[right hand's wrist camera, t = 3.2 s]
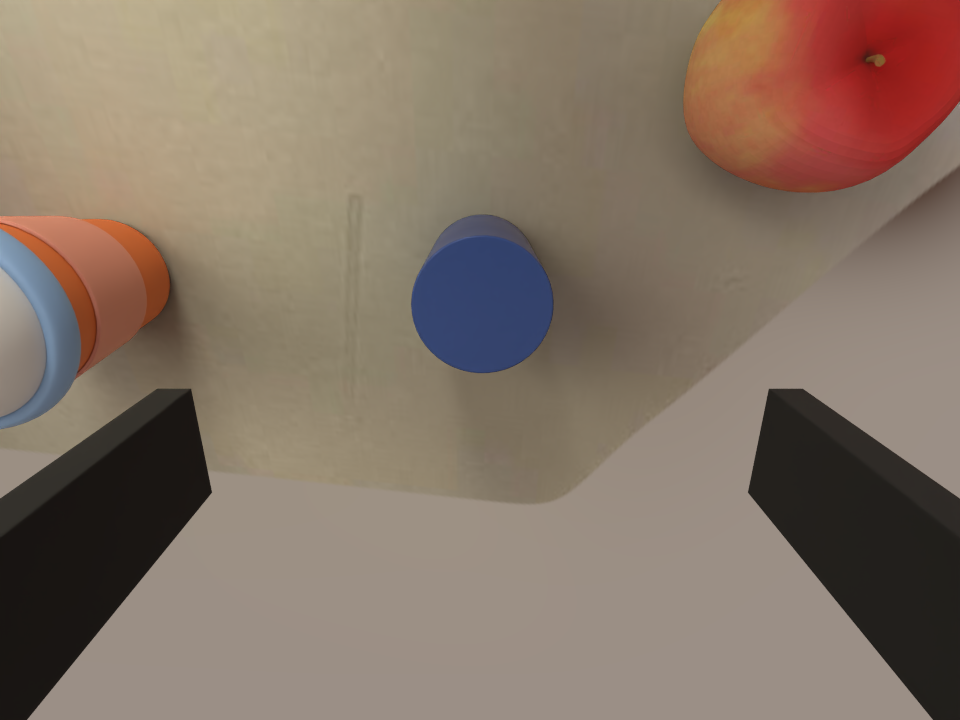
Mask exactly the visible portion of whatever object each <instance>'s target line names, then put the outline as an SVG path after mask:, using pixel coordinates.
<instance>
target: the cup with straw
mask: <svg viewBox="0 0 960 720" xmlns="http://www.w3.org/2000/svg"><path fill="white" fill-rule="evenodd" d="M169 290H170V280H169V274H168V270H167V267H166V264H165V262H164V260H163V258H162V256H161V254H160V253H159V251H158V250H157V249H156V247H155V246H154V245H153V244H152V243H151V242H150V241H149V240H148V239H147V238H146V237H145V236H144V235H142V234H141V233H140V232H138V231H137V230H135V229H133V228H132V227H130V226H127V225H125V224H122V223H120V222H116V221H112V220H103V219H76V218H71V217H64V216H2V217H0V429H4V428H9V427H13V426H17V425H20V424H23V423H26V422H28V421H31V420H33V419H35V418H37V417H39V416H41V415H42V414H44V413H45V412H47V411H48V410H50V409H51V408H52V407H54V406H55V405H56V404H57V403H58V402H59V401H60V400H61V399H62V398H63V397H64V396H65V394H66V393H67V392H68V390H69V389H70V387H71V385H72V383H73V381H74V380H75V379H76V378H77V377H79V376H80V375H82V374H83V373H84V372H86V371H87V370H89V369H90V368H91V367H93V366H94V365H96V364H97V363H98V362H100V361H101V360H103V359H104V358H105V357H107V356H108V355H110V354H111V353H112V352H114V351H115V350H117V349H118V348H119V347H121V346H122V345H124V344H125V343H126V342H128V341H129V340H130V339H131V338H132V337H133V336H134V335H135V334H136V333H137V331H138V330H139V329H140V328H141V327H143V326H144V325H146V324H147V323H149V322H150V321H151V320H152V319H154V318H155V317H156V316H157V315H158V314H159V313H160V312H161V311H162V309H163V308H164V306H165V304H166V302H167V299H168V296H169Z"/></svg>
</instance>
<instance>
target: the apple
mask: <svg viewBox="0 0 960 720" xmlns="http://www.w3.org/2000/svg"><path fill="white" fill-rule="evenodd" d="M959 101H960V0H721V1H720V3H719V4H718V5H717V6H716V8H715V9H714V11H713V12H712V14H711V15H710V17H709V18H708V20H707V21H706V23H705V24H704V26H703V27H702V29H701V31H700V33H699V35H698V37H697V40H696V42H695V44H694V47H693V50H692V53H691V57H690V60H689V64H688V68H687V74H686V79H685V86H684V99H683V105H684V117H685V123H686V126H687V130H688V132H689V134H690V136H691V138H692V140H693V141H694V143H695V144H696V146H697V147H698V148H699V149H700V150H701V151H702V152H703V153H704V154H705V155H706V156H707V157H708V158H709V159H710V160H712V161H713V162H714V163H716V164H717V165H718V166H720V167H721V168H723V169H725V170H726V171H728V172H730V173H732V174H734V175H736V176H738V177H740V178H742V179H745V180H747V181H750V182H752V183H755V184H758V185H761V186H765V187H769V188H773V189H778V190H784V191H791V192H827V191H835V190H839V189H844V188H848V187H852V186H855V185H857V184H860V183H863V182H865V181H868V180H870V179H872V178H874V177H876V176H878V175H880V174H882V173H884V172H885V171H887V170H888V169H890V168H891V167H893V166H894V165H896V164H897V163H898V162H900V161H901V160H902V159H904V158H905V157H906V156H907V155H908V154H910V153H911V152H912V151H913V150H914V149H915V148H916V147H917V146H918V145H919V144H920V143H921V142H923V141H924V140H925V139H926V138H927V137H928V136H929V135H930V134H931V133H932V132H933V131H934V130H935V129H936V128H937V127H938V126H939V125H940V124H941V123H942V122H943V121H944V120H945V118H946V117H947V116H948V115H949V114H950V113H951V112H952V110H953V109H954V108H955V107H956V105H957V104H958V103H959Z"/></svg>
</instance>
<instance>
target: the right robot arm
mask: <svg viewBox="0 0 960 720" xmlns="http://www.w3.org/2000/svg"><path fill="white" fill-rule="evenodd" d="M211 493H212V490H211V486H210V480H209V476H208V471H207V466H206V461H205V456H204V451H203V446H202V441H201V436H200V431H199V426H198V421H197V416H196V411H195V406H194V401H193V396H192V391H191V389H156V390H155V391H154V392H152V393H151V394H149V395H148V396H146V397H145V398H144V399H142V400H141V401H139V402H138V403H136V404H135V405H133V406H132V407H131V408H129V409H128V410H126V411H125V412H123V413H122V414H121V415H119V416H118V417H116V418H115V419H113V420H112V421H111V422H109V423H108V424H106V425H105V426H103V427H102V428H101V429H99V430H98V431H96V432H95V433H93V434H92V435H91V436H89V437H88V438H86V439H85V440H83V441H82V442H81V443H79V444H78V445H76V446H75V447H73V448H72V449H71V450H69V451H68V452H66V453H65V454H63V455H62V456H61V457H59V458H58V459H56V460H55V461H54V462H52V463H51V464H49V465H48V466H46V467H45V468H43V469H42V470H41V471H39V472H38V473H36V474H35V475H33V476H32V477H30V478H29V479H28V480H26V481H25V482H23V483H22V484H20V485H19V486H18V487H16V488H15V489H13V490H12V491H10V492H9V493H8V494H6V495H5V496H3V497H2V498H0V720H27V719H28V718H29V717H30V715H31V714H32V713H33V712H34V710H35V709H36V708H37V707H38V705H39V704H40V703H41V702H42V701H43V699H44V698H45V697H46V696H47V694H48V693H49V692H50V691H51V689H52V688H53V687H54V686H55V685H56V683H57V682H58V681H59V680H60V678H61V677H62V676H63V675H64V674H65V672H66V671H67V670H68V669H69V667H70V666H71V665H72V664H73V662H74V661H75V660H76V659H77V658H78V656H79V655H80V654H81V653H82V651H83V650H84V649H85V648H86V646H87V645H88V644H89V643H90V642H91V640H92V639H93V638H94V637H95V635H96V634H97V633H98V632H99V631H100V629H101V628H102V627H103V626H104V624H105V623H106V622H107V621H108V620H109V618H110V617H111V616H112V615H113V613H114V612H115V611H116V610H117V608H118V607H119V606H120V605H121V603H122V602H123V601H124V600H125V599H126V597H127V596H128V595H129V594H130V592H131V591H132V590H133V589H134V588H135V586H136V585H137V584H138V583H139V581H140V580H141V579H142V578H143V577H144V575H145V574H146V573H147V572H148V570H149V569H150V568H151V567H152V565H153V564H154V563H155V562H156V561H157V559H158V558H159V557H160V556H161V554H162V553H163V552H164V551H165V550H166V548H167V547H168V546H169V545H170V543H171V542H172V541H173V540H174V538H175V537H176V536H177V535H178V534H179V532H180V531H181V530H182V529H183V527H184V526H185V525H186V524H187V522H188V521H189V520H190V519H191V518H192V516H193V515H194V514H195V513H196V511H197V510H198V509H199V508H200V506H201V505H202V504H203V503H204V502H205V500H206V499H207V498H208V497H209V495H210V494H211ZM748 493H749V494H750V495H751V497H752V498H753V499H754V500H755V502H756V503H757V504H758V505H759V507H760V508H761V509H762V510H763V511H764V513H765V514H766V515H767V516H768V518H769V519H770V520H771V521H772V523H773V524H774V525H775V526H776V527H777V529H778V530H779V531H780V532H781V534H782V535H783V536H784V537H785V538H786V540H787V541H788V542H789V543H790V545H791V546H792V547H793V548H794V550H795V551H796V552H797V553H798V554H799V556H800V557H801V558H802V559H803V560H804V562H805V563H806V564H807V565H808V567H809V568H810V569H811V570H812V572H813V573H814V574H815V575H816V576H817V578H818V579H819V580H820V581H821V583H822V584H823V585H824V586H825V587H826V589H827V590H828V591H829V593H830V594H831V595H832V596H833V597H834V599H835V600H836V601H837V602H838V604H839V605H840V606H841V607H842V608H843V610H844V611H845V612H846V613H847V615H848V616H849V617H850V618H851V620H852V621H853V622H854V623H855V624H856V626H857V627H858V628H859V629H860V631H861V632H862V633H863V634H864V635H865V637H866V638H867V639H868V640H869V642H870V643H871V644H872V645H873V647H874V648H875V649H876V650H877V651H878V653H879V654H880V655H881V656H882V658H883V659H884V660H885V661H886V663H887V664H888V665H889V666H890V667H891V669H892V670H893V671H894V672H895V674H896V675H897V676H898V677H899V678H900V680H901V681H902V682H903V683H904V685H905V686H906V687H907V688H908V690H909V691H910V692H911V693H912V694H913V696H914V697H915V698H916V699H917V700H918V702H919V703H920V704H921V705H922V707H923V708H924V709H925V710H926V712H927V713H928V714H929V715H930V717H931V718H932V719H933V720H960V499H959V498H958V497H957V496H955V495H954V494H952V493H951V492H950V491H948V490H947V489H945V488H944V487H942V486H941V485H939V484H938V483H937V482H935V481H934V480H932V479H931V478H929V477H928V476H927V475H925V474H924V473H922V472H921V471H919V470H918V469H917V468H915V467H914V466H912V465H911V464H909V463H908V462H907V461H905V460H904V459H902V458H901V457H899V456H898V455H897V454H895V453H894V452H892V451H891V450H889V449H888V448H887V447H885V446H884V445H882V444H881V443H879V442H878V441H877V440H875V439H874V438H872V437H871V436H869V435H868V434H867V433H865V432H864V431H862V430H861V429H859V428H858V427H857V426H855V425H854V424H852V423H851V422H849V421H848V420H847V419H845V418H844V417H842V416H841V415H839V414H838V413H837V412H835V411H834V410H832V409H831V408H829V407H828V406H826V405H825V404H824V403H822V402H821V401H819V400H818V399H816V398H815V397H814V396H812V395H811V394H809V393H808V392H806V391H805V390H804V389H769V391H768V396H767V401H766V406H765V411H764V416H763V421H762V426H761V431H760V436H759V441H758V446H757V451H756V456H755V461H754V466H753V471H752V476H751V481H750V485H749V490H748Z"/></svg>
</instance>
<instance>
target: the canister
mask: <svg viewBox="0 0 960 720" xmlns="http://www.w3.org/2000/svg"><path fill="white" fill-rule="evenodd" d="M411 307H412V316H413V321H414V324H415V327H416V330H417V332H418V334H419V336H420V338H421V340H422V341H423V343H424V344H425V345H426V347H427V348H428V349H429V350H430V351H431V352H432V353H433V354H434V355H435V356H436V357H437V358H439V359H440V360H442V361H443V362H445V363H446V364H448V365H450V366H452V367H455V368H457V369H460V370H463V371H468V372H474V373H491V372H497V371H501V370H505V369H507V368H510V367H512V366H515V365H516V364H518V363H520V362H522V361H523V360H524V359H526V358H527V357H529V356H530V355H531V354H532V353H533V352H534V351H535V350H536V349H537V347H538V346H539V345H540V344H541V342H542V341H543V339H544V337H545V336H546V334H547V331H548V329H549V326H550V323H551V320H552V314H553V293H552V288H551V284H550V282H549V279H548V276H547V274H546V272H545V271H544V269H543V267H542V265H541V263H540V262H539V260H538V258H537V256H536V255H535V253H534V251H533V249H532V247H531V246H530V244H529V242H528V240H527V238H526V237H525V236H524V234H523V233H522V232H521V231H520V230H519V229H518V228H517V227H516V226H514V225H513V224H512V223H510V222H508V221H506V220H504V219H502V218H499V217H496V216H492V215H473V216H468V217H465V218H462V219H460V220H458V221H456V222H455V223H453V224H451V225H450V226H449V227H448V228H446V229H445V230H444V232H443V233H442V234H441V235H440V236H439V238H438V239H437V241H436V243H435V244H434V246H433V248H432V250H431V252H430V254H429V255H428V257H427V259H426V261H425V263H424V265H423V266H422V268H421V270H420V272H419V274H418V276H417V278H416V281H415V284H414V287H413V292H412V301H411Z"/></svg>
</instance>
